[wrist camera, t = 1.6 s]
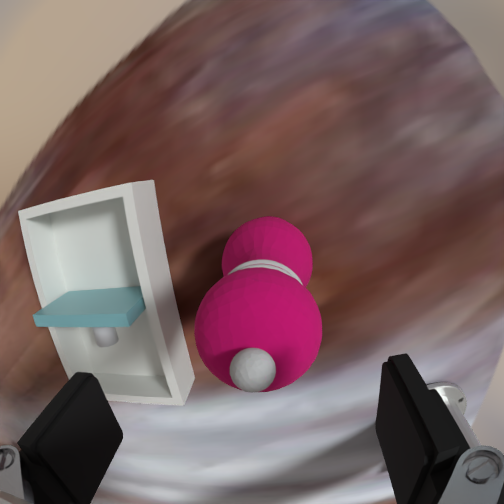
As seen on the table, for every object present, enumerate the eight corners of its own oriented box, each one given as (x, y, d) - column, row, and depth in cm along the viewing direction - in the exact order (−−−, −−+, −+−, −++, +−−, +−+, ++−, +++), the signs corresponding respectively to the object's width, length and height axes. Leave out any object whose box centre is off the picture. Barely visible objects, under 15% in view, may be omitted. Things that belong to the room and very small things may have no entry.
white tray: (194, 377, 35) (184, 405, 30) (94, 374, 36) (76, 396, 32) (153, 179, 30) (131, 182, 25) (46, 204, 31) (18, 211, 26)
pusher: (165, 328, 32) (141, 363, 26) (80, 329, 33) (48, 358, 27) (154, 284, 31) (125, 313, 24) (68, 291, 32) (32, 315, 26)
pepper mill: (215, 256, 31) (126, 384, 12) (261, 194, 29) (225, 246, 10) (275, 300, 32) (268, 466, 12) (323, 242, 30) (390, 365, 11)
